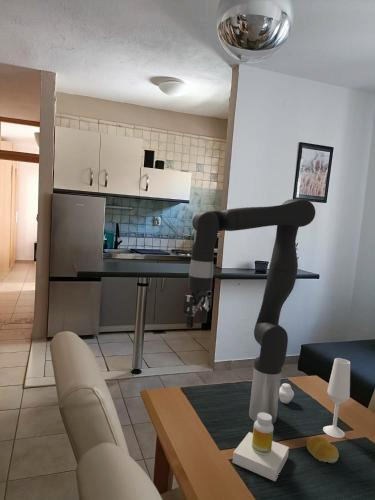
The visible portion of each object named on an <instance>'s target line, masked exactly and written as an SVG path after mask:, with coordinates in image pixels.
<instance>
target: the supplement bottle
mask: <svg viewBox="0 0 375 500" xmlns="http://www.w3.org/2000/svg"><path fill="white" fill-rule="evenodd" d="M274 428H275V427H274V424H272V417H271V415H269V414H267V413H258V415H257V421H254V423H253V432H252V433H253V439H252V449H253V450H254V451H255V452H256V453H258V454H261V455H268V454H270V452H271V448H272V441H273V436H274Z"/></svg>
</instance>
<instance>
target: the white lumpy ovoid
mask: <svg viewBox="0 0 375 500" xmlns="http://www.w3.org/2000/svg"><path fill="white" fill-rule="evenodd" d="M294 396H295V392H294V390H293V389H292V386H291V385H290V384H289V383H287V382H285V383H282V384H281V385H280V390H279V400H280V402H281V403H282V404H289V403H290V402H291V400H292V399H293V397H294Z"/></svg>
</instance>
